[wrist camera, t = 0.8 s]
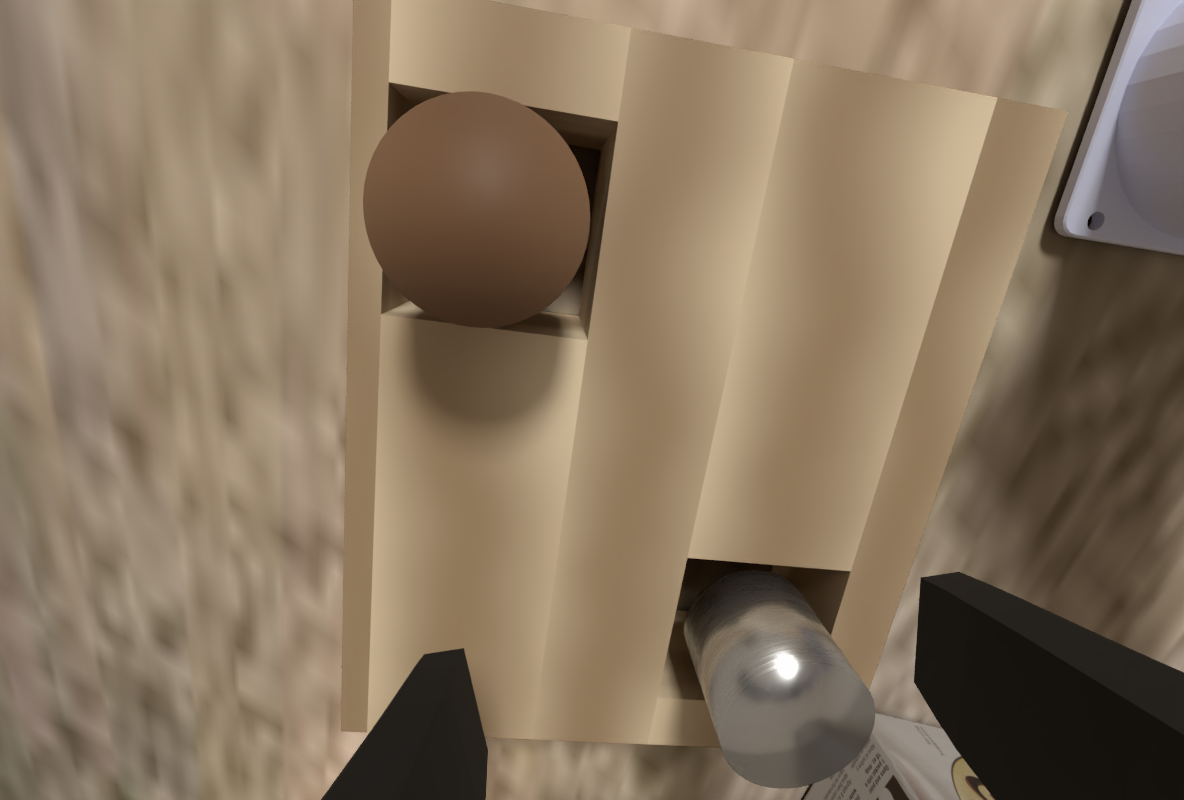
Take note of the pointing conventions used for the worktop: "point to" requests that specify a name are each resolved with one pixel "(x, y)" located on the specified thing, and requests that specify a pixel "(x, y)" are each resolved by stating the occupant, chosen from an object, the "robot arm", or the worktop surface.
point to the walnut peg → (476, 209)
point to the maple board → (667, 364)
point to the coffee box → (903, 767)
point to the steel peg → (775, 682)
